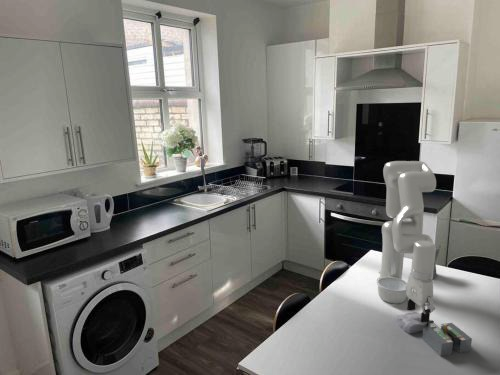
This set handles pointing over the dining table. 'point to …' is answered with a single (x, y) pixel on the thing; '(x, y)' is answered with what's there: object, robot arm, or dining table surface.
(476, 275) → the dining table surface
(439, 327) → the bar with dark endcap
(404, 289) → the ramekin
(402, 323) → the stone block
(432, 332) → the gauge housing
